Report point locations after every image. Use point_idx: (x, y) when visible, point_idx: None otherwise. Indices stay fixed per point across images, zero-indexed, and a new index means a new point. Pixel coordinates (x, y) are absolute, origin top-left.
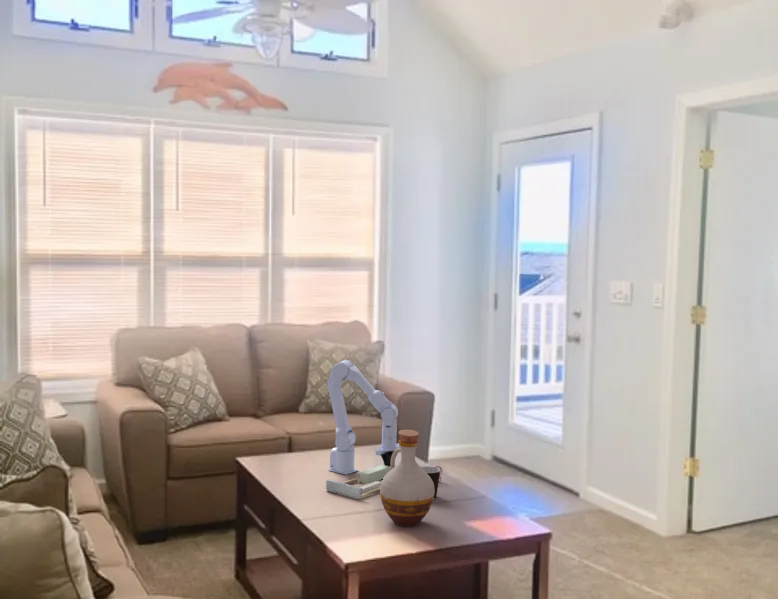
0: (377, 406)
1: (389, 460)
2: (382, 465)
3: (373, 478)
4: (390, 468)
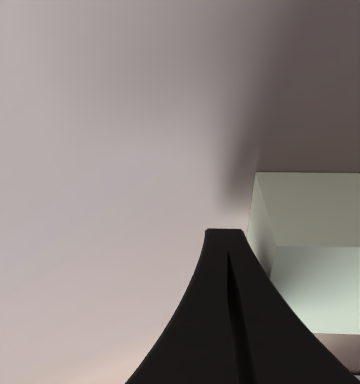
0: None
1: (316, 338)
2: None
3: None
4: (280, 228)
